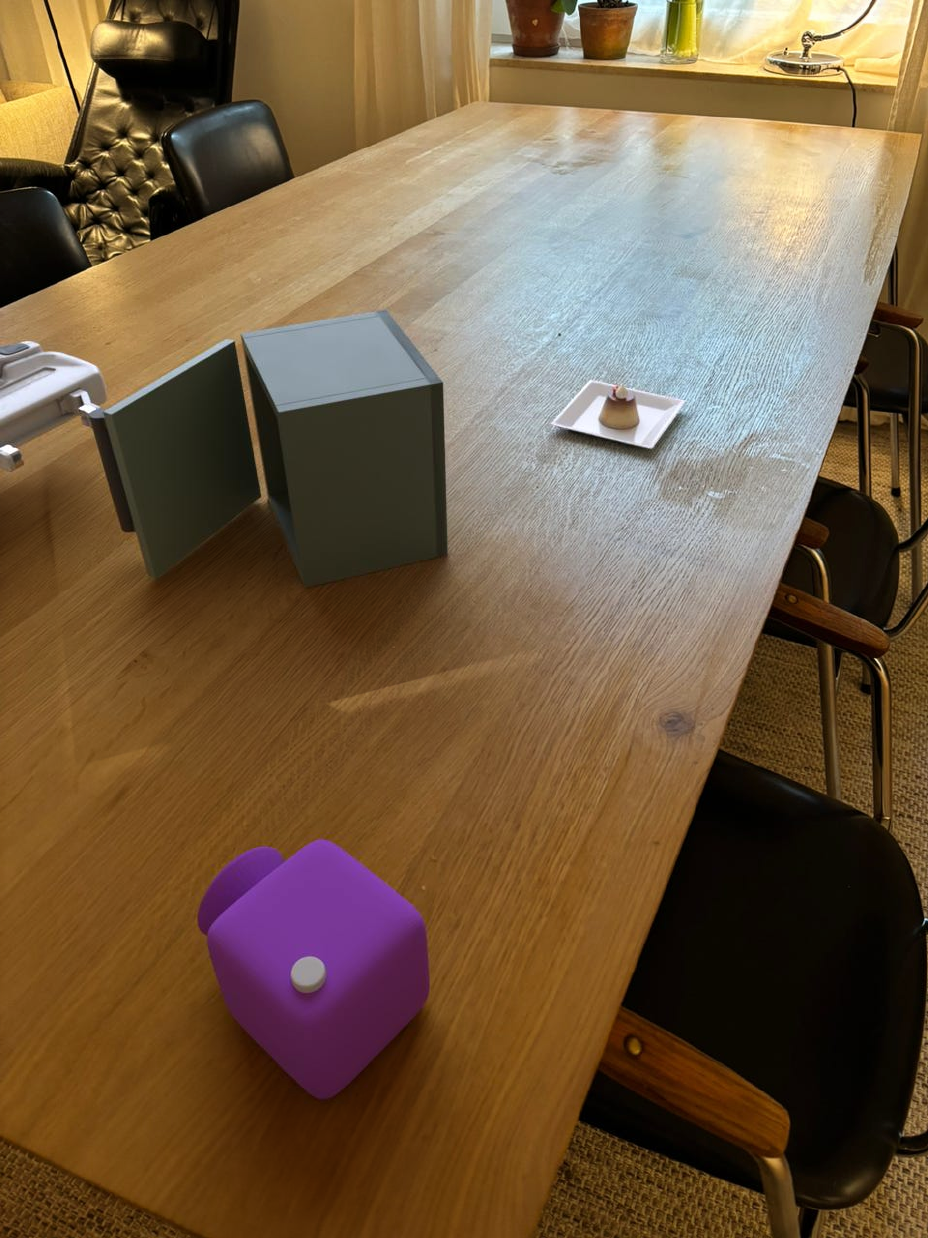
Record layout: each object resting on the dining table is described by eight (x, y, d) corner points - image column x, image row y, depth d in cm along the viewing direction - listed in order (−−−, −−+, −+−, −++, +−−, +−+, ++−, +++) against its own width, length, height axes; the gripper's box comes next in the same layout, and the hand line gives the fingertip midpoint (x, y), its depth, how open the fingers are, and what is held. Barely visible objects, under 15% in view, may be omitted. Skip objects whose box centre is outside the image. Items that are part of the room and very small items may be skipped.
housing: (304, 588, 91) (278, 412, 79) (267, 498, 102) (240, 332, 91) (448, 554, 95) (443, 381, 83) (397, 471, 106) (386, 309, 94)
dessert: (589, 387, 120) (592, 350, 117) (685, 409, 116) (691, 371, 113) (549, 432, 112) (551, 394, 109) (651, 457, 108) (656, 418, 104)
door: (108, 561, 94) (59, 398, 83) (216, 482, 104) (185, 327, 93) (156, 579, 91) (111, 414, 80) (261, 497, 102) (234, 340, 91)
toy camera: (279, 880, 67) (258, 783, 60) (453, 974, 61) (449, 879, 55) (166, 1011, 60) (128, 917, 53) (350, 1131, 54) (332, 1042, 48)
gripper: (-142, 415, 91) (-52, 459, 85) (43, 333, 104) (133, 367, 98) (-115, 473, 95) (-27, 520, 89) (60, 388, 108) (147, 423, 102)
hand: (58, 439), depth 93 cm, fingers open, 8 cm apart
